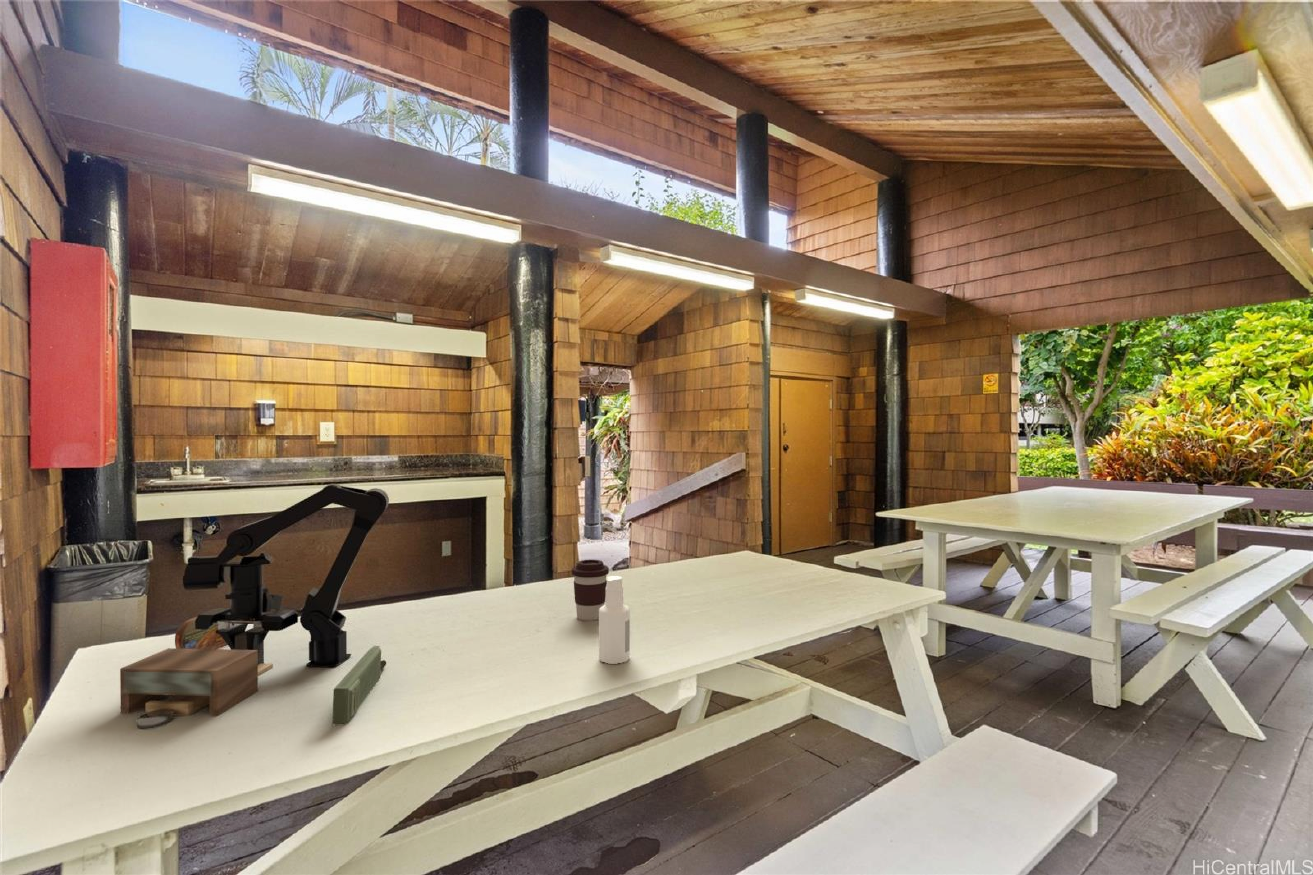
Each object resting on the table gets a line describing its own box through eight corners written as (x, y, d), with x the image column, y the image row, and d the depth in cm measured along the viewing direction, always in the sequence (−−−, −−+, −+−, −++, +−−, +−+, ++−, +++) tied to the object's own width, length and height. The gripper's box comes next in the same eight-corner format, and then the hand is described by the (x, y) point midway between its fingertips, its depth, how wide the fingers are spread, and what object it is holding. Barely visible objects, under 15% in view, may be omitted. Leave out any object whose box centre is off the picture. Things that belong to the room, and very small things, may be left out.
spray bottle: (636, 658, 133) (636, 577, 133) (613, 667, 128) (613, 583, 128) (615, 650, 138) (615, 572, 138) (592, 659, 133) (592, 577, 133)
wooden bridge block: (257, 691, 116) (257, 650, 116) (216, 716, 106) (216, 671, 106) (168, 689, 117) (168, 648, 117) (119, 714, 107) (118, 669, 107)
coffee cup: (606, 623, 158) (606, 566, 157) (569, 623, 158) (569, 566, 157) (610, 611, 167) (610, 558, 167) (574, 611, 168) (574, 557, 167)
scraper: (276, 665, 129) (275, 628, 129) (188, 715, 106) (187, 670, 106) (240, 664, 129) (240, 627, 129) (145, 714, 107) (145, 669, 107)
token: (181, 715, 107) (181, 709, 107) (156, 729, 102) (156, 722, 102) (154, 715, 107) (154, 708, 107) (128, 729, 102) (128, 722, 102)
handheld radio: (328, 727, 103) (374, 669, 128) (349, 726, 104) (390, 669, 128) (330, 688, 103) (375, 638, 128) (350, 687, 103) (392, 637, 128)
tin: (183, 662, 131) (183, 623, 131) (171, 661, 132) (171, 622, 132) (243, 638, 146) (243, 604, 146) (232, 637, 146) (232, 603, 146)
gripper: (314, 577, 133) (314, 647, 133) (233, 575, 134) (234, 645, 135) (279, 590, 122) (280, 667, 122) (192, 589, 123) (193, 664, 123)
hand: (247, 660), depth 126 cm, fingers closed on scraper, 2 cm apart
